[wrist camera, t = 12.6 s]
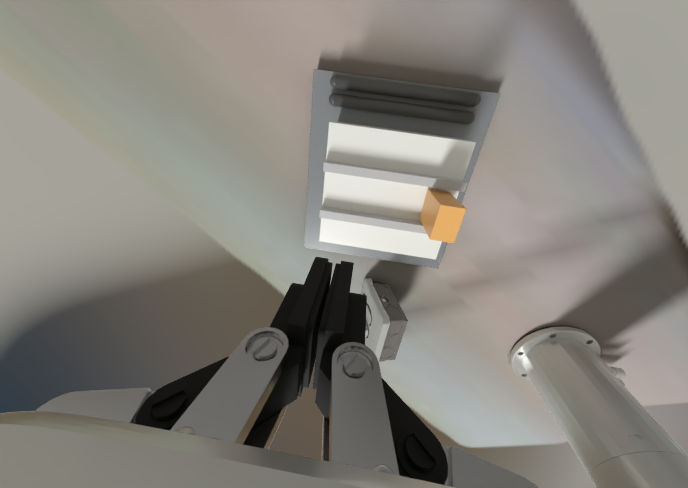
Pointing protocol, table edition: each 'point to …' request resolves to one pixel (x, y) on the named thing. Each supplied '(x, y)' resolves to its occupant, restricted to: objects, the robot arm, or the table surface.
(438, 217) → the handle
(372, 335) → the electrical switch
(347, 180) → the block
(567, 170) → the table surface
